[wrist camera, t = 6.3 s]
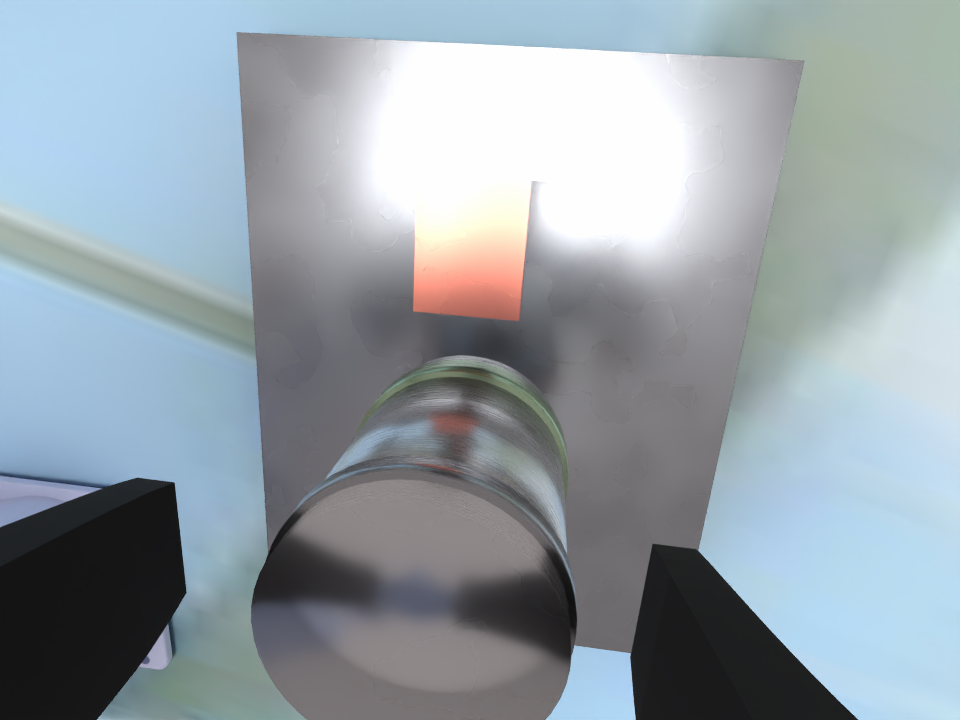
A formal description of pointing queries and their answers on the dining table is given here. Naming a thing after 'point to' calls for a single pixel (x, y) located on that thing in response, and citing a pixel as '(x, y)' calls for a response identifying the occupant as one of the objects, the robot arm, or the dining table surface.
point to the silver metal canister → (429, 559)
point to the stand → (514, 261)
